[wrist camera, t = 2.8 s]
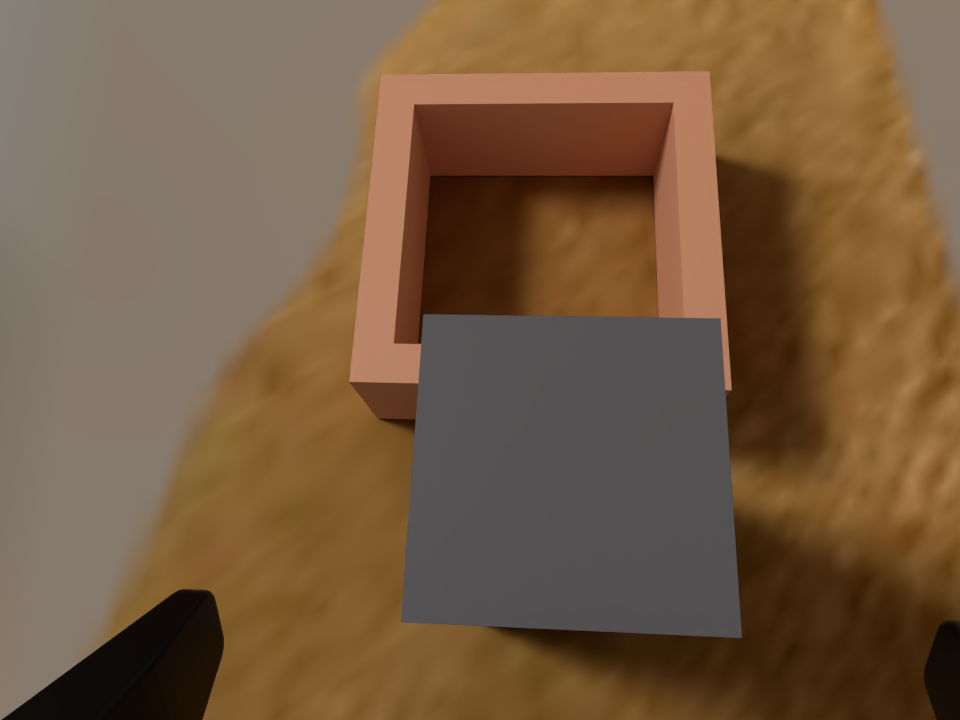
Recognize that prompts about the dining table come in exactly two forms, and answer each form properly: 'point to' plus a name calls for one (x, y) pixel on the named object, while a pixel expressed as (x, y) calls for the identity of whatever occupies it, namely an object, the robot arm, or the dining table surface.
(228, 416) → the dining table surface
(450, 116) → the socket
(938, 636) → the robot arm
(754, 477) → the dining table surface
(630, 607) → the plug
